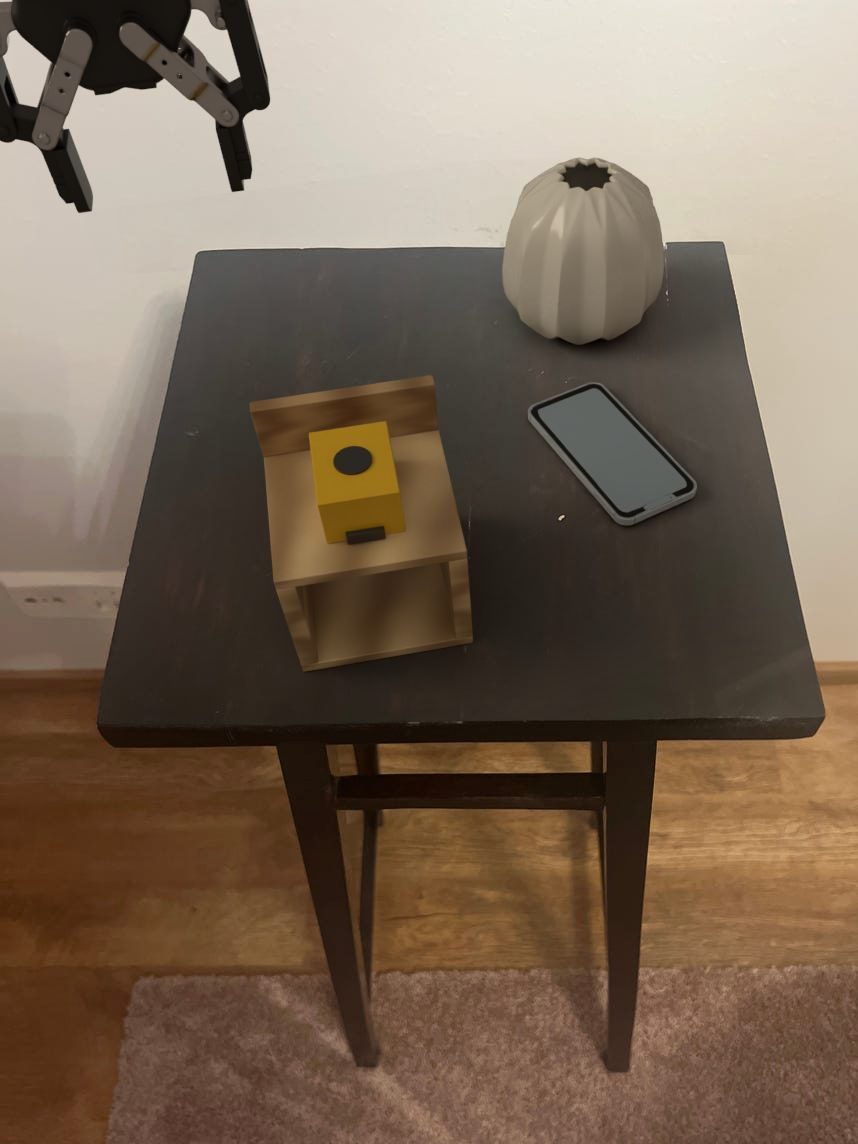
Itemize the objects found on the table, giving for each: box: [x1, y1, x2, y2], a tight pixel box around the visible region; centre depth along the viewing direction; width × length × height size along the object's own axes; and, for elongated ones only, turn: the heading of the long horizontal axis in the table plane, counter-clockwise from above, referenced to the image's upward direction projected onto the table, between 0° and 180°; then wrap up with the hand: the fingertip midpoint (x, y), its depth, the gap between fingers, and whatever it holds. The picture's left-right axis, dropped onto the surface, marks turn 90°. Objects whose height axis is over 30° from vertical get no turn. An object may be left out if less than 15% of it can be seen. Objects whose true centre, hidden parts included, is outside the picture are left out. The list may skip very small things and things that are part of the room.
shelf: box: [249, 374, 474, 673], centre depth 66 cm, size 12×12×14 cm
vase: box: [501, 157, 665, 346], centre depth 84 cm, size 14×14×13 cm
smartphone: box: [527, 381, 698, 526], centre depth 78 cm, size 7×1×15 cm
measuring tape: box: [309, 421, 405, 545], centre depth 61 cm, size 5×7×4 cm
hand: (162, 194), depth 55 cm, fingers open, 8 cm apart
